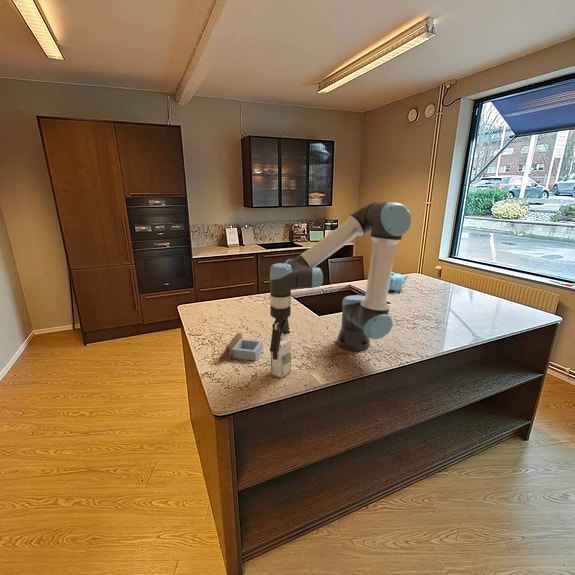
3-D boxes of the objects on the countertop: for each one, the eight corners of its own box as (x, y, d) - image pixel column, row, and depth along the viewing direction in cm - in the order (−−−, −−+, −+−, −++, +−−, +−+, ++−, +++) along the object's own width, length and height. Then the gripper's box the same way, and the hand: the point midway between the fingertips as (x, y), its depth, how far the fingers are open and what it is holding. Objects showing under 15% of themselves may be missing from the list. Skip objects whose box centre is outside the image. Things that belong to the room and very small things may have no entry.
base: (242, 345, 149) (241, 333, 147) (230, 360, 136) (230, 347, 134) (232, 344, 150) (231, 332, 148) (219, 358, 137) (219, 346, 135)
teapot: (383, 293, 223) (385, 275, 219) (381, 286, 238) (382, 269, 234) (410, 294, 220) (412, 276, 216) (406, 287, 235) (408, 270, 231)
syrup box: (280, 367, 130) (279, 335, 126) (291, 372, 127) (291, 339, 123) (270, 373, 126) (270, 340, 122) (282, 379, 123) (281, 344, 118)
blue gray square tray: (262, 349, 145) (262, 340, 144) (255, 360, 136) (255, 351, 134) (241, 346, 147) (240, 338, 146) (232, 357, 138) (232, 349, 137)
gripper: (278, 294, 131) (278, 341, 137) (260, 317, 107) (261, 372, 113) (296, 295, 129) (296, 343, 135) (282, 319, 106) (282, 375, 112)
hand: (280, 357), depth 124 cm, fingers open, 13 cm apart
